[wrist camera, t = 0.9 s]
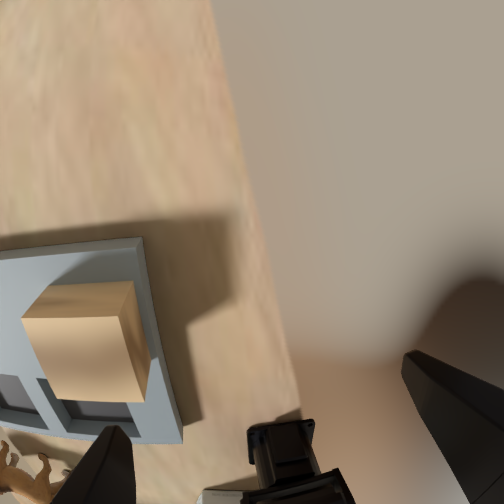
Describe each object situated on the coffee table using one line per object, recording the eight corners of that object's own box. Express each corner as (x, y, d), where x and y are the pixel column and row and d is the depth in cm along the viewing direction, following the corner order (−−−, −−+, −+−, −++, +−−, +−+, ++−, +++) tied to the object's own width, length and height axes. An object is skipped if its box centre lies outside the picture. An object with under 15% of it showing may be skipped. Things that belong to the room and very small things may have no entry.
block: (151, 360, 20) (144, 402, 16) (73, 360, 19) (57, 398, 15) (133, 280, 18) (118, 316, 14) (47, 285, 17) (20, 318, 13)
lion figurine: (-1, 455, 26) (-18, 501, 17) (-19, 432, 24) (-40, 480, 16) (85, 477, 28) (76, 534, 19) (70, 455, 26) (56, 517, 18)
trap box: (182, 427, 25) (182, 443, 24) (-14, 409, 22) (-21, 420, 21) (142, 236, 19) (135, 247, 17) (-82, 261, 16) (-94, 270, 14)
